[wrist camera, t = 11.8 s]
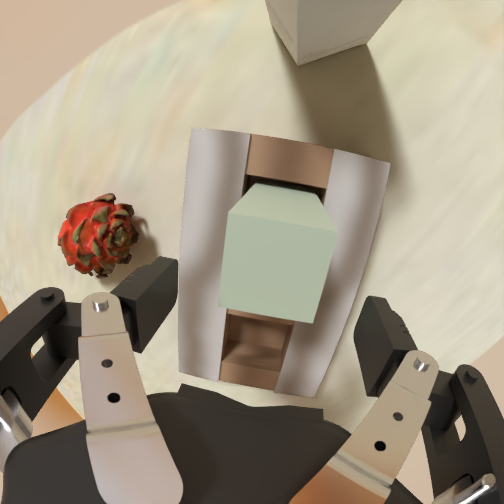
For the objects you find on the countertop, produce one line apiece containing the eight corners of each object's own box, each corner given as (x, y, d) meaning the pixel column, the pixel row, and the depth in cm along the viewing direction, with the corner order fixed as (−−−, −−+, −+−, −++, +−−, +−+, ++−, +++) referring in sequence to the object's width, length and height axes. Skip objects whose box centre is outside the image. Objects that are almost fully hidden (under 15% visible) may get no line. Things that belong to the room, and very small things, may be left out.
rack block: (372, 160, 24) (390, 163, 19) (312, 367, 34) (313, 397, 29) (209, 130, 25) (191, 127, 20) (191, 344, 35) (179, 372, 30)
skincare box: (339, 2, 19) (369, -84, 5) (369, 47, 20) (430, -23, 6) (266, 25, 21) (242, -65, 7) (294, 71, 22) (299, -3, 9)
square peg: (312, 188, 25) (337, 232, 12) (302, 238, 27) (312, 323, 14) (259, 179, 26) (228, 212, 13) (251, 229, 27) (217, 306, 14)
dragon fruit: (162, 205, 30) (104, 241, 35) (107, 160, 24) (56, 209, 29) (151, 271, 26) (90, 297, 30) (79, 227, 19) (34, 267, 24)
